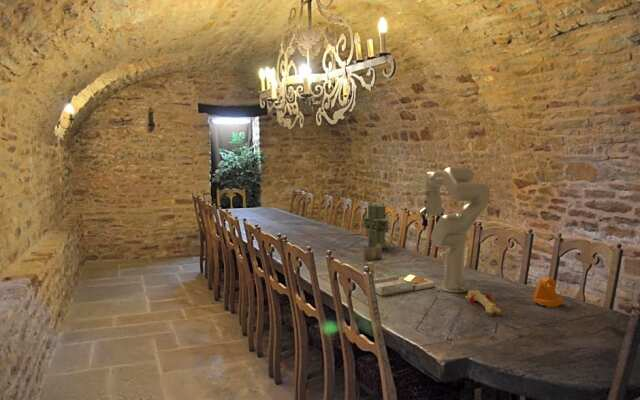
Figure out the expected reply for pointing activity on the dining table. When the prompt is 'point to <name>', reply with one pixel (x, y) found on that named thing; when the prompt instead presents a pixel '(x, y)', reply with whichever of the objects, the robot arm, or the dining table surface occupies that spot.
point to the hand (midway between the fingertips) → (431, 225)
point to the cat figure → (483, 301)
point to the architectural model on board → (373, 252)
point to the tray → (424, 285)
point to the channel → (392, 285)
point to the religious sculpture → (376, 225)
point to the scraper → (371, 268)
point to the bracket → (546, 293)
